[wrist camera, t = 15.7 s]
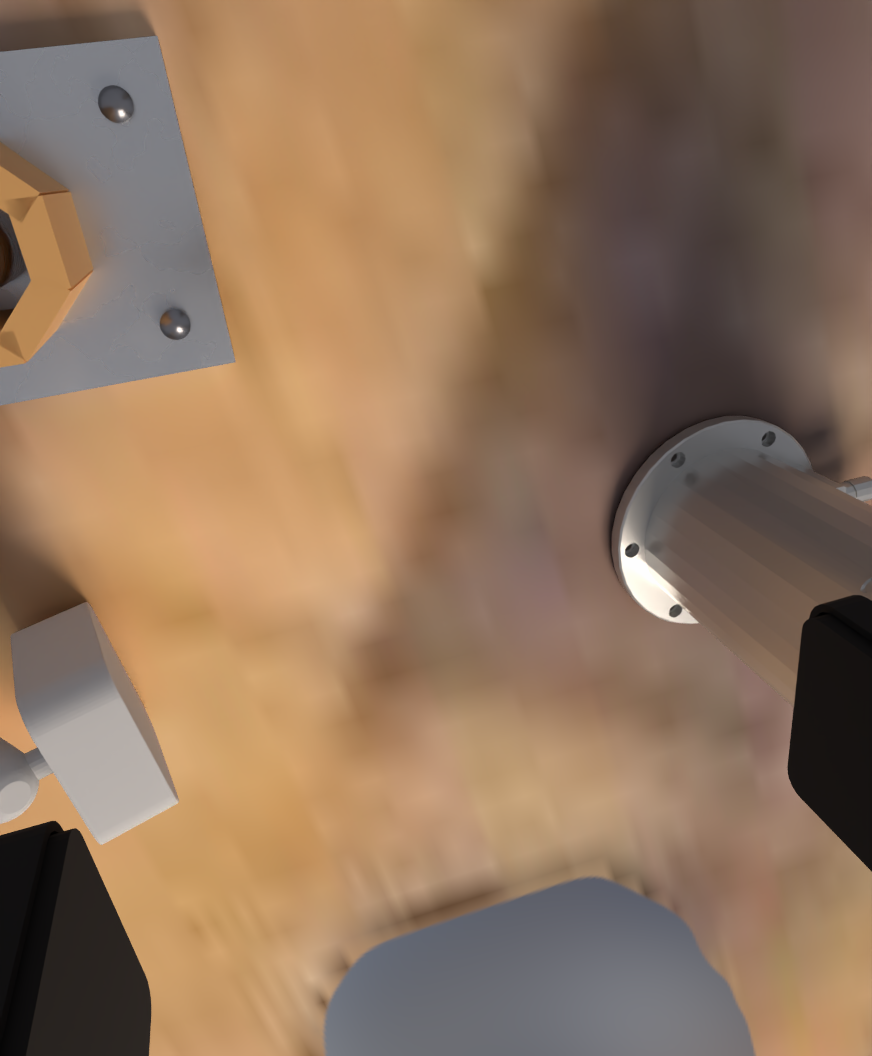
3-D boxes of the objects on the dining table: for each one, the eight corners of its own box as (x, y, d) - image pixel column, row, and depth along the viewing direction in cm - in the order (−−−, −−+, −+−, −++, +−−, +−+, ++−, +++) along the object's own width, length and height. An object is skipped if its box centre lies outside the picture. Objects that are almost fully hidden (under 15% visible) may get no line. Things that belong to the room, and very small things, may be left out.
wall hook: (-153, 675, 35) (-193, 813, 27) (79, 577, 38) (107, 671, 30) (-60, 801, 38) (-70, 956, 30) (144, 701, 42) (184, 815, 34)
